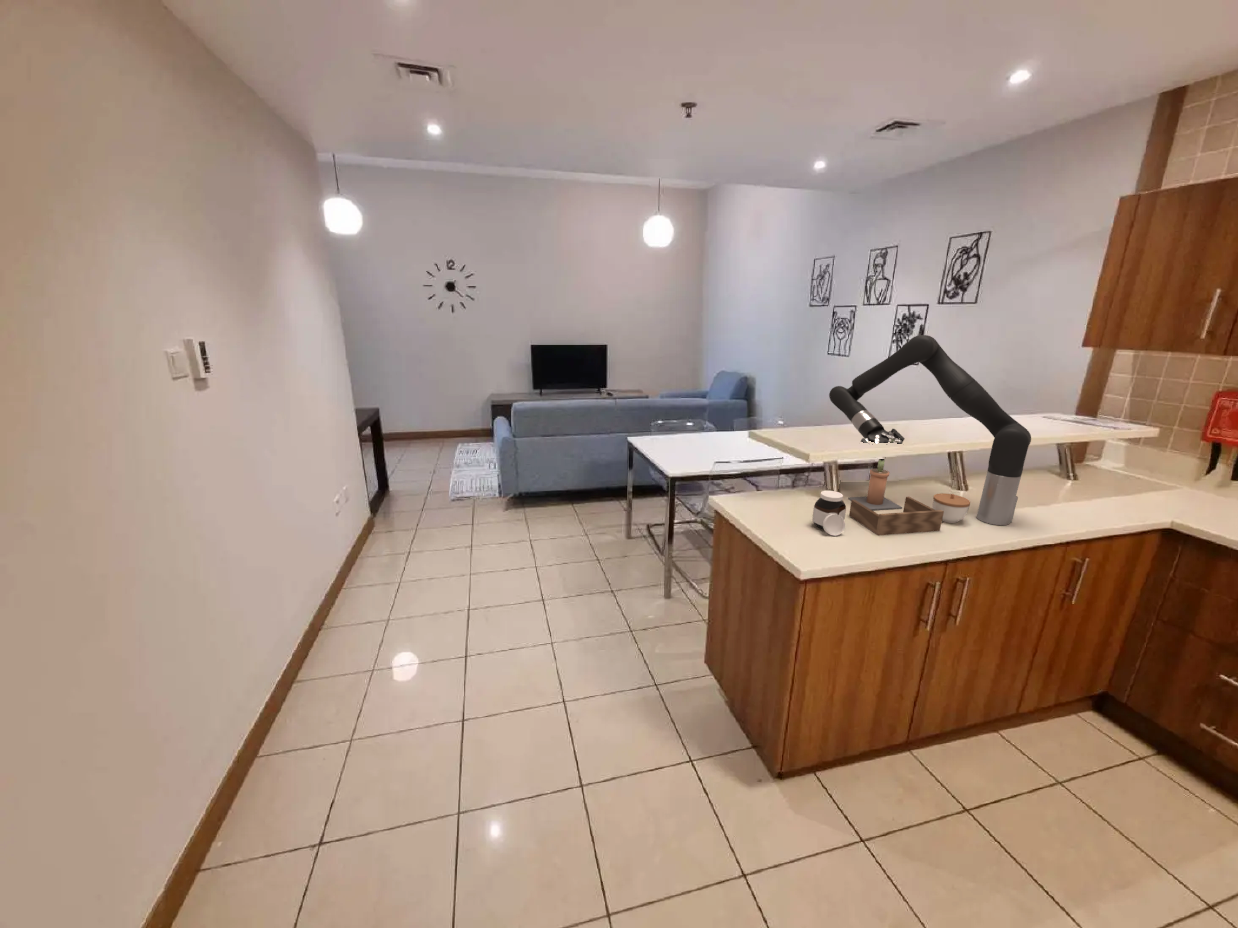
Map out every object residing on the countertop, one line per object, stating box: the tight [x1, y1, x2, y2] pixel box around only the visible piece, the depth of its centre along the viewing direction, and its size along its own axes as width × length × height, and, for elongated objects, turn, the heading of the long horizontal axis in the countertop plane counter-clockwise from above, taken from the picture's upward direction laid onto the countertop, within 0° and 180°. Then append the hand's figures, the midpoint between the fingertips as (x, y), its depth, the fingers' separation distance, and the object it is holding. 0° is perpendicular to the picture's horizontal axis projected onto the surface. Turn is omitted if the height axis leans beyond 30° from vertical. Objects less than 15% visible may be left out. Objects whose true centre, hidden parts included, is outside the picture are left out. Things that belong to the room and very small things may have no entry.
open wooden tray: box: [848, 496, 944, 536], centre depth 170 cm, size 22×16×7 cm
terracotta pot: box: [866, 459, 891, 505], centre depth 185 cm, size 6×6×17 cm
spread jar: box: [811, 490, 847, 537], centre depth 165 cm, size 12×11×12 cm
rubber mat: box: [847, 495, 903, 512], centre depth 187 cm, size 14×12×1 cm
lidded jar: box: [931, 492, 971, 524], centre depth 173 cm, size 11×11×9 cm
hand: (894, 455), depth 178 cm, fingers open, 8 cm apart
